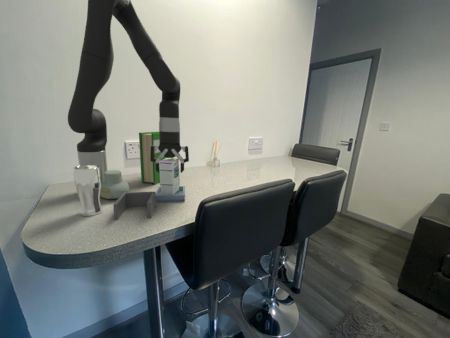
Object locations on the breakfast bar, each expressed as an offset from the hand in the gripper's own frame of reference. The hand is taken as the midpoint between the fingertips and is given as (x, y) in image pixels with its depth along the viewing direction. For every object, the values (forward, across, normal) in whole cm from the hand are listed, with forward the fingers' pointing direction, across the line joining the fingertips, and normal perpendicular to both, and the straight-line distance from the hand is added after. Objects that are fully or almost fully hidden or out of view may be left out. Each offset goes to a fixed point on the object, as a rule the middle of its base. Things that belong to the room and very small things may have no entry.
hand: (170, 172), depth 79 cm
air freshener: (+10, -22, +2) cm, 24 cm away
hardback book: (+10, -8, +26) cm, 29 cm away
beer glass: (+10, -24, -12) cm, 29 cm away
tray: (+10, 0, 0) cm, 10 cm away
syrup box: (+10, 0, 0) cm, 10 cm away
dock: (+10, -10, -13) cm, 19 cm away
